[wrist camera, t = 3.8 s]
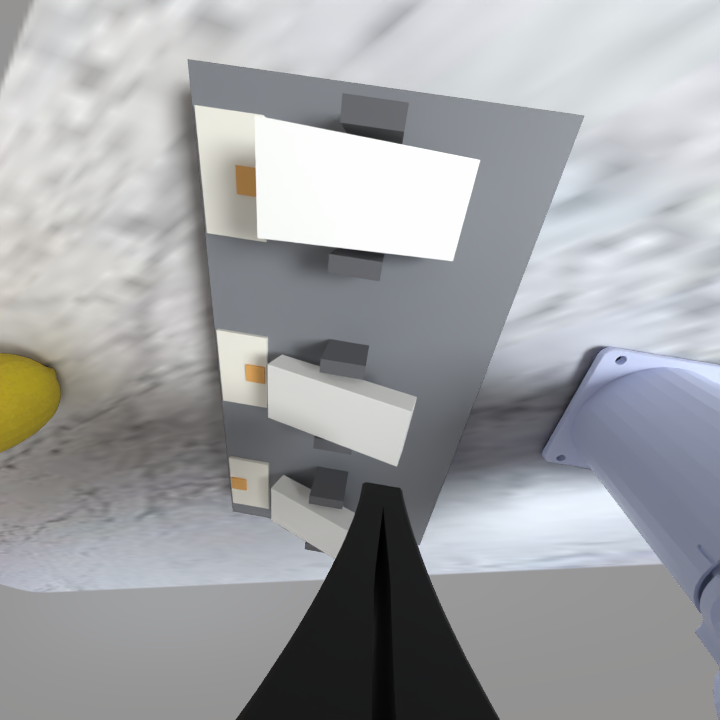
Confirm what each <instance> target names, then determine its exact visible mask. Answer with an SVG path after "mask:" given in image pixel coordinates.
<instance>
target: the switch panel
mask: <svg viewBox="0 0 720 720" xmlns="http://www.w3.org/2000/svg"><path fill="white" fill-rule="evenodd" d="M188 68H189V78H190V88H191V98H192V108H193V118H194V128H195V138H196V148H197V158H198V168H199V178H200V188H201V198H202V208H203V218H204V228H205V238H206V248H207V258H208V268H209V278H210V288H211V298H212V308H213V318H214V328H215V338H216V348H217V358H218V368H219V378H220V388H221V398H222V408H223V418H224V428H225V438H226V448H227V458H228V468H229V478H230V488H231V498H232V508H233V511H234V512H240V513H245V514H251V515H257V516H262V517H268V518H271V488H272V487H273V486H274V485H275V483H276V482H277V481H278V480H279V479H280V478H281V477H282V476H283V475H285V476H287V477H289V478H290V479H292V480H294V481H296V482H298V483H300V484H302V485H304V486H305V487H307V488H309V489H311V492H310V495H309V504H314V505H320V506H325V507H331V508H336V509H342V508H343V507H345V508H347V509H349V510H350V511H352V512H354V513H355V512H356V509H357V506H358V502H359V499H360V494H361V489H362V484H363V483H365V482H369V483H375V484H381V485H386V486H392V487H398V488H400V489H401V490H402V492H403V497H404V501H405V506H406V510H407V513H408V517H409V520H410V524H411V527H412V530H413V533H414V536H415V540H416V542H417V545H420V543H421V540H422V538H423V535H424V532H425V530H426V527H427V524H428V522H429V519H430V517H431V514H432V511H433V509H434V506H435V504H436V501H437V498H438V496H439V493H440V491H441V488H442V485H443V483H444V480H445V478H446V475H447V472H448V470H449V467H450V465H451V462H452V459H453V457H454V454H455V452H456V449H457V446H458V444H459V441H460V439H461V436H462V433H463V431H464V428H465V426H466V423H467V420H468V418H469V415H470V412H471V410H472V407H473V405H474V402H475V399H476V397H477V394H478V392H479V389H480V386H481V384H482V381H483V379H484V376H485V373H486V371H487V368H488V366H489V363H490V360H491V358H492V355H493V353H494V350H495V347H496V345H497V342H498V340H499V337H500V334H501V332H502V329H503V327H504V324H505V321H506V319H507V316H508V314H509V311H510V308H511V306H512V303H513V301H514V298H515V295H516V293H517V290H518V287H519V285H520V282H521V280H522V277H523V274H524V272H525V269H526V267H527V264H528V261H529V259H530V256H531V254H532V251H533V248H534V246H535V243H536V241H537V238H538V235H539V233H540V230H541V228H542V225H543V222H544V220H545V217H546V215H547V212H548V209H549V207H550V204H551V202H552V199H553V196H554V194H555V191H556V189H557V186H558V183H559V181H560V178H561V175H562V173H563V170H564V168H565V165H566V162H567V160H568V157H569V155H570V152H571V149H572V147H573V144H574V142H575V139H576V136H577V134H578V131H579V129H580V126H581V123H582V121H583V118H584V116H583V115H576V114H569V113H562V112H555V111H548V110H541V109H534V108H527V107H520V106H513V105H506V104H499V103H492V102H485V101H478V100H471V99H464V98H457V97H450V96H442V95H435V94H428V93H421V92H414V91H407V90H400V89H393V88H386V87H379V86H372V85H365V84H358V83H351V82H344V81H337V80H330V79H323V78H316V77H309V76H302V75H295V74H288V73H281V72H274V71H267V70H260V69H253V68H246V67H239V66H231V65H224V64H217V63H210V62H203V61H196V60H189V59H188ZM254 115H256V116H261V117H266V118H271V119H276V120H281V121H286V122H291V123H296V124H301V125H306V126H311V127H316V128H321V129H326V130H331V131H336V132H341V133H346V134H351V135H357V136H362V137H367V138H372V139H377V140H382V141H387V142H392V143H397V144H402V145H407V146H412V147H417V148H422V149H427V150H432V151H437V152H442V153H447V154H452V155H457V156H462V157H467V158H472V159H477V160H480V162H479V166H478V170H477V174H476V177H475V181H474V185H473V188H472V192H471V196H470V200H469V203H468V207H467V211H466V214H465V218H464V222H463V226H462V229H461V233H460V237H459V240H458V244H457V248H456V251H455V255H454V259H453V261H447V260H439V259H430V258H422V257H413V256H405V255H396V254H388V253H380V252H371V251H363V250H354V249H346V248H337V247H329V246H321V245H312V244H304V243H295V242H287V241H278V240H270V239H262V238H257V200H256V159H255V118H254ZM281 355H285V356H288V357H292V358H295V359H298V360H301V361H304V362H307V363H311V364H314V365H317V366H320V373H326V374H332V375H338V376H344V377H350V378H356V379H362V380H365V381H368V382H371V383H374V384H377V385H381V386H384V387H387V388H390V389H393V390H397V391H400V392H403V393H406V394H409V395H412V396H416V397H417V399H416V403H415V407H414V410H413V414H412V418H411V421H410V425H409V429H408V432H407V436H406V440H405V443H404V447H403V451H402V453H401V456H400V459H399V462H398V465H397V467H396V466H394V465H391V464H388V463H386V462H383V461H381V460H378V459H375V458H373V457H370V456H367V455H365V454H362V453H360V452H357V451H354V450H352V449H349V448H347V447H344V446H341V445H339V444H336V443H333V442H331V441H328V440H326V439H323V438H320V437H318V436H315V435H312V434H310V433H307V432H305V431H302V430H299V429H297V428H294V427H292V426H289V425H286V424H284V423H281V422H278V421H276V420H273V419H271V418H268V366H267V364H269V363H270V362H272V361H273V360H275V359H276V358H278V357H279V356H281ZM305 549H307V550H313V551H318V552H323V551H321V550H319V549H318V548H316V547H314V546H313V545H311V544H310V543H308V542H306V543H305Z"/></svg>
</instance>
